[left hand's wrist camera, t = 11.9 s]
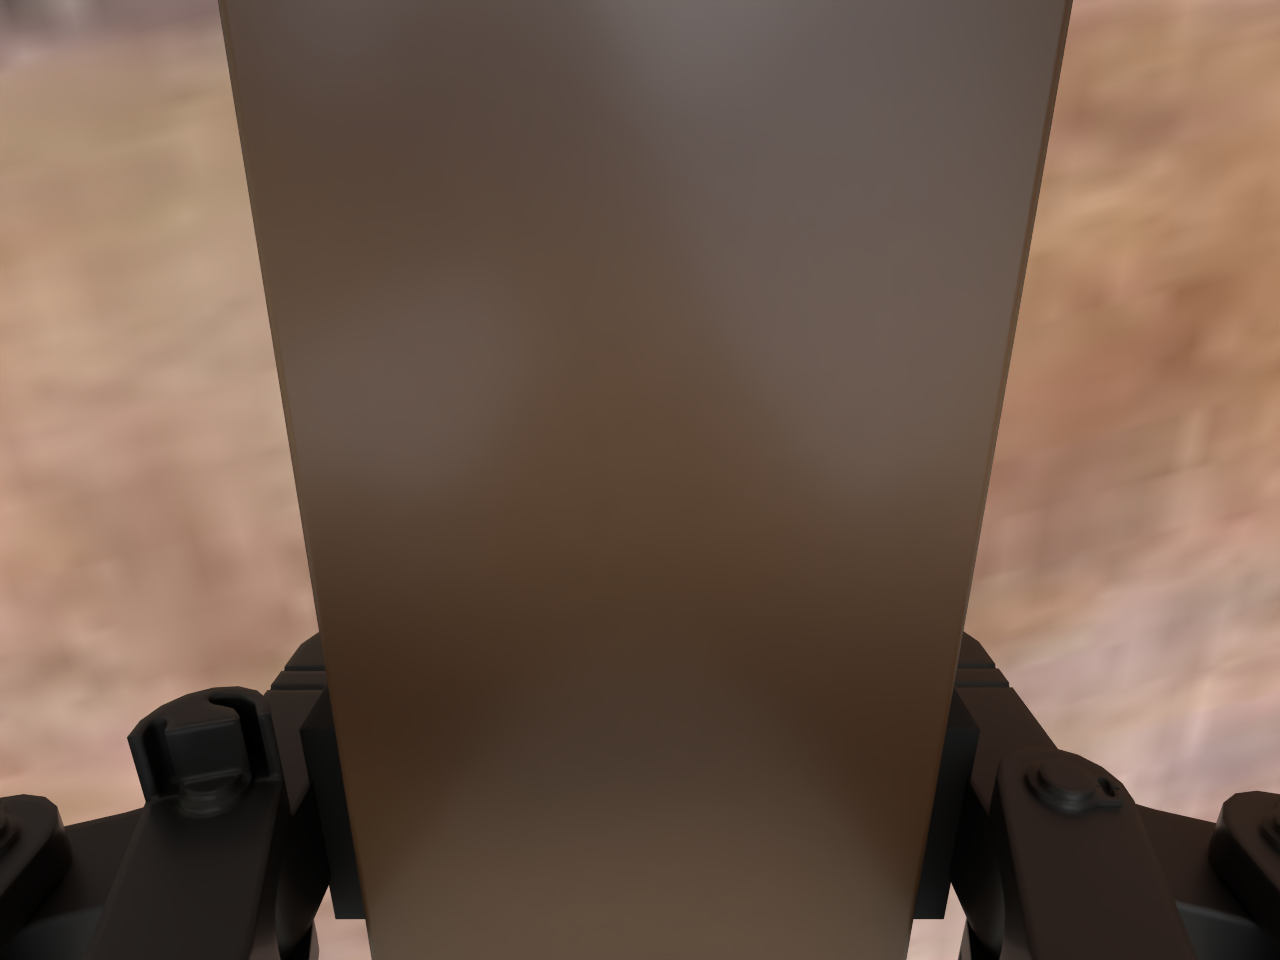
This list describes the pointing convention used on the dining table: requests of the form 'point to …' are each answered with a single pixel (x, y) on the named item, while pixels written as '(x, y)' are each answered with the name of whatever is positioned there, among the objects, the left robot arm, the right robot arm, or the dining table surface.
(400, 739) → the post
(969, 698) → the left robot arm
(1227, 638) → the dining table surface
